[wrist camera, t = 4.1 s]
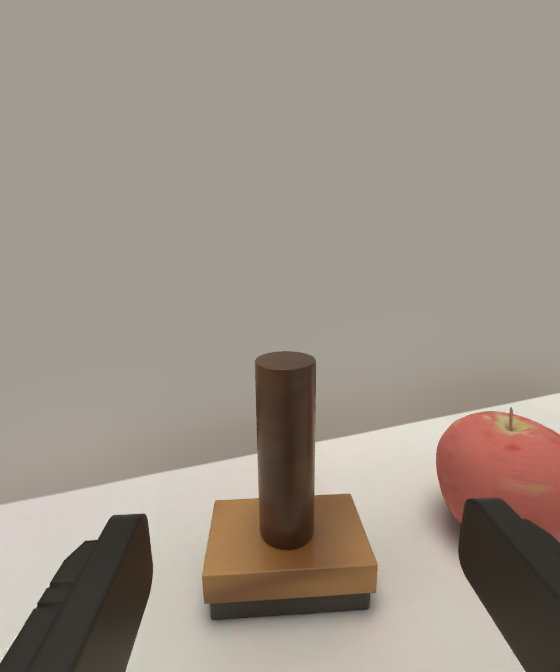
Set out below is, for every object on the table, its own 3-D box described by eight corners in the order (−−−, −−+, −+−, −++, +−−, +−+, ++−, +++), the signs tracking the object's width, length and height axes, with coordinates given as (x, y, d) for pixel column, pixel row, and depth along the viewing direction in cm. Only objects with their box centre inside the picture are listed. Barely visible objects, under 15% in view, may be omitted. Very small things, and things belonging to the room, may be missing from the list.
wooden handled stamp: (205, 625, 17) (186, 381, 14) (217, 540, 21) (205, 347, 19) (375, 613, 17) (390, 375, 14) (348, 532, 22) (356, 343, 19)
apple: (411, 494, 25) (420, 388, 23) (510, 488, 26) (527, 383, 24) (474, 591, 18) (494, 449, 16) (610, 580, 19) (645, 441, 17)
